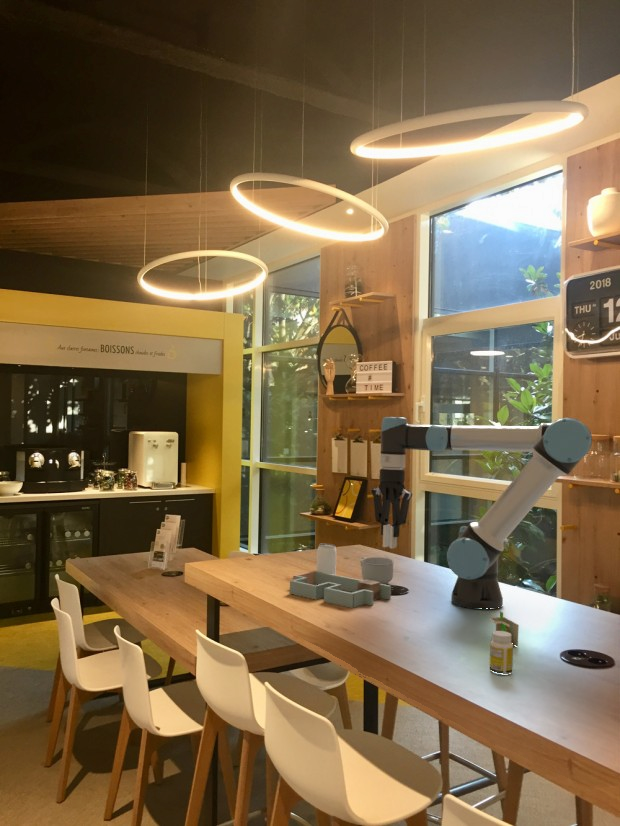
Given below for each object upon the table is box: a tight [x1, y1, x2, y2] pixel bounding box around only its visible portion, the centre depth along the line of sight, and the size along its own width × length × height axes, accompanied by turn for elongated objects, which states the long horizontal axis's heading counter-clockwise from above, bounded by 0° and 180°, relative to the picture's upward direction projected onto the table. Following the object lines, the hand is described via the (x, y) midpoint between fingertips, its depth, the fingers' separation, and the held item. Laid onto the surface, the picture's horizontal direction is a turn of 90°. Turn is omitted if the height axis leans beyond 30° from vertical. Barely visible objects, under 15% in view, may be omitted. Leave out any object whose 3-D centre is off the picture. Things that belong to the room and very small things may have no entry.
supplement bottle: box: [489, 630, 514, 674], centre depth 151 cm, size 5×5×8 cm
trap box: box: [289, 570, 392, 609], centre depth 214 cm, size 30×18×4 cm, turn 53°
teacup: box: [360, 556, 395, 585], centre depth 234 cm, size 14×11×8 cm
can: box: [315, 543, 337, 575], centre depth 234 cm, size 6×6×12 cm
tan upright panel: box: [489, 611, 519, 647], centre depth 172 cm, size 4×7×8 cm, turn 15°
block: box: [357, 579, 381, 601], centre depth 213 cm, size 5×5×5 cm
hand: (389, 547), depth 208 cm, fingers open, 2 cm apart
